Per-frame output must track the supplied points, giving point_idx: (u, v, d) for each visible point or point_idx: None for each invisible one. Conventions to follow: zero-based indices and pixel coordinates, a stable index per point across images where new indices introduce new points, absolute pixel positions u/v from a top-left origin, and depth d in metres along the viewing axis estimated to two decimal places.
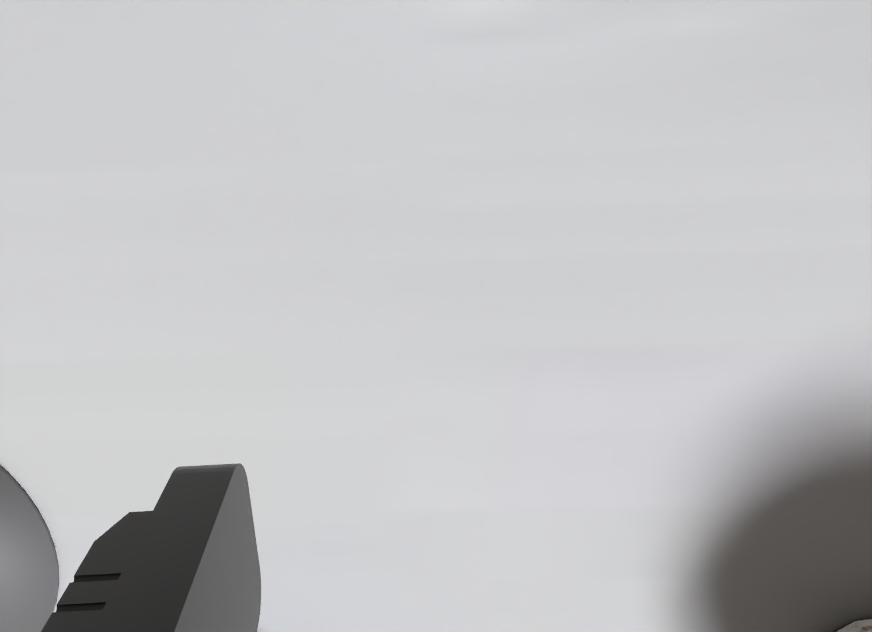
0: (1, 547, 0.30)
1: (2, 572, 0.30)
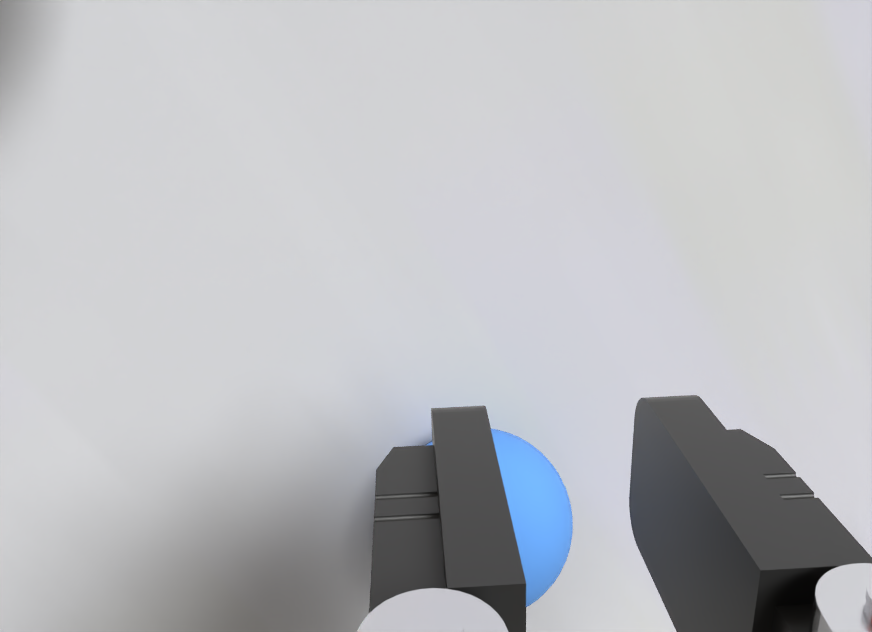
0: None
1: None
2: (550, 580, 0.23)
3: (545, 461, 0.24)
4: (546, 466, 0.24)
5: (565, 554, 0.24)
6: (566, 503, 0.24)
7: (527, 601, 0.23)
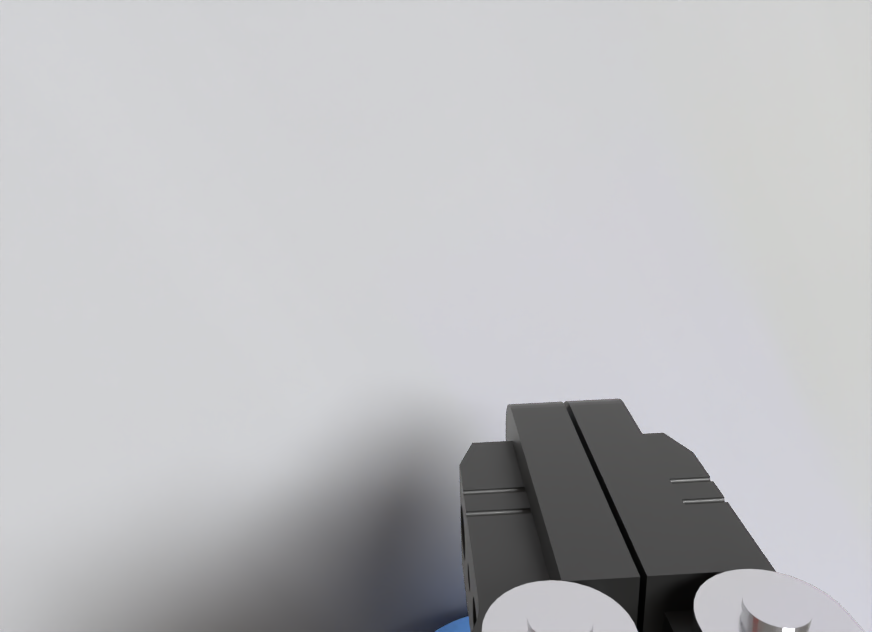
0: None
1: None
2: None
3: None
4: None
5: None
6: None
7: None
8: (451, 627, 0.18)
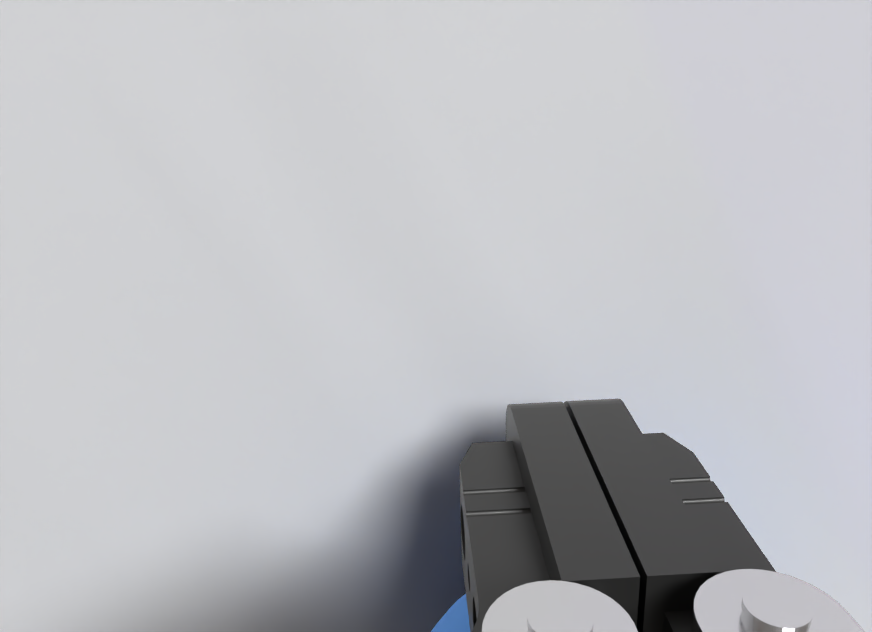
0: None
1: None
2: None
3: None
4: None
5: None
6: None
7: None
8: None
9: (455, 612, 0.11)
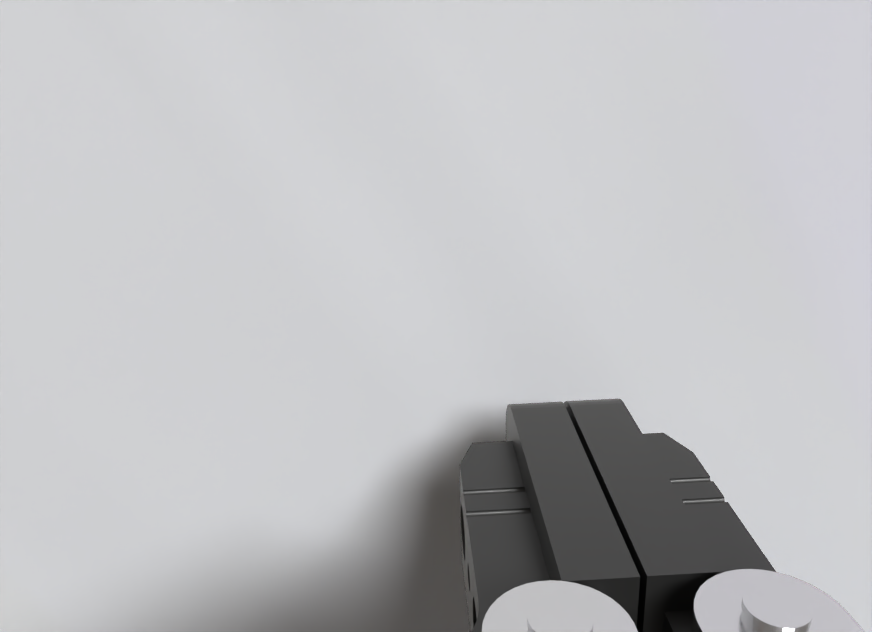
0: None
1: None
2: None
3: None
4: None
5: None
6: None
7: None
8: None
9: None
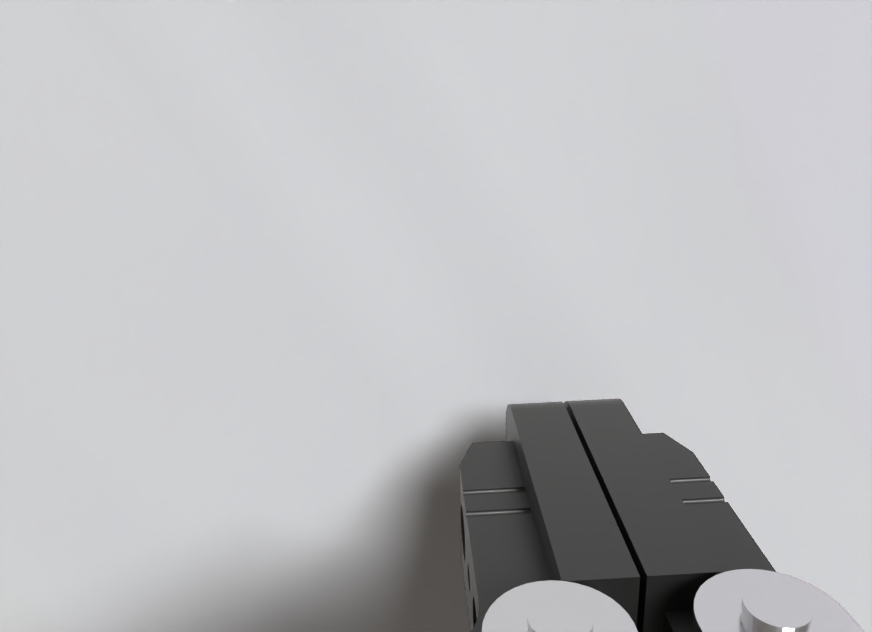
0: None
1: None
2: None
3: None
4: None
5: None
6: None
7: None
8: None
9: None
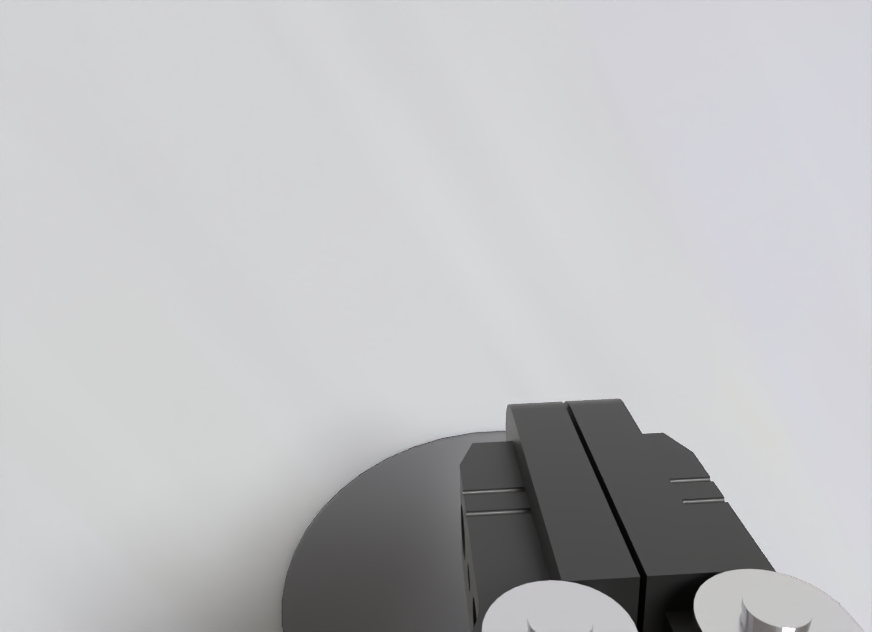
0: (392, 523, 0.24)
1: (428, 508, 0.24)
2: None
3: None
4: None
5: None
6: None
7: None
8: None
9: None
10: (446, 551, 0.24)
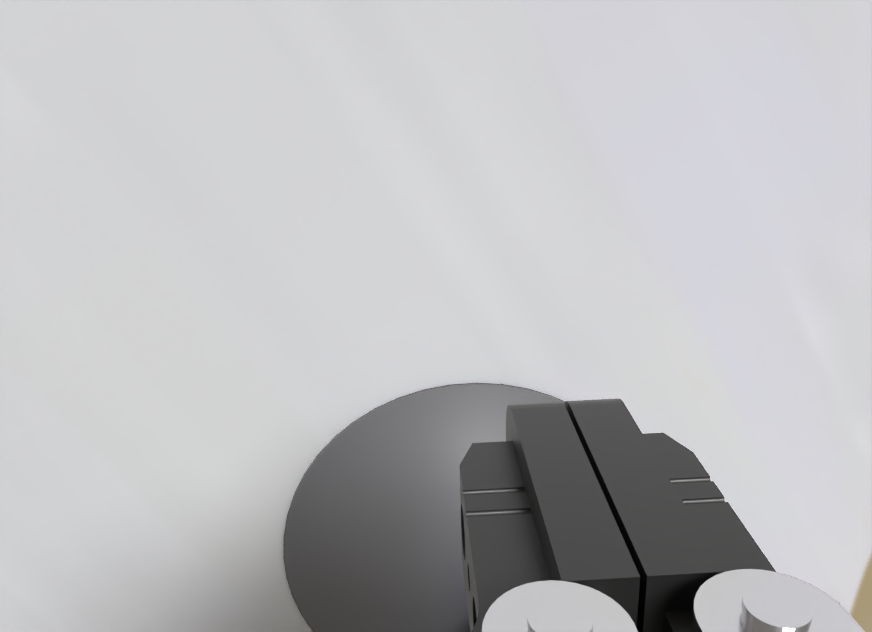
0: (380, 466, 0.27)
1: (411, 452, 0.27)
2: None
3: None
4: None
5: None
6: None
7: None
8: None
9: None
10: (427, 490, 0.28)
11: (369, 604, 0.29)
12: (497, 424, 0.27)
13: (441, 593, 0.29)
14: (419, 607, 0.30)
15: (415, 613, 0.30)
